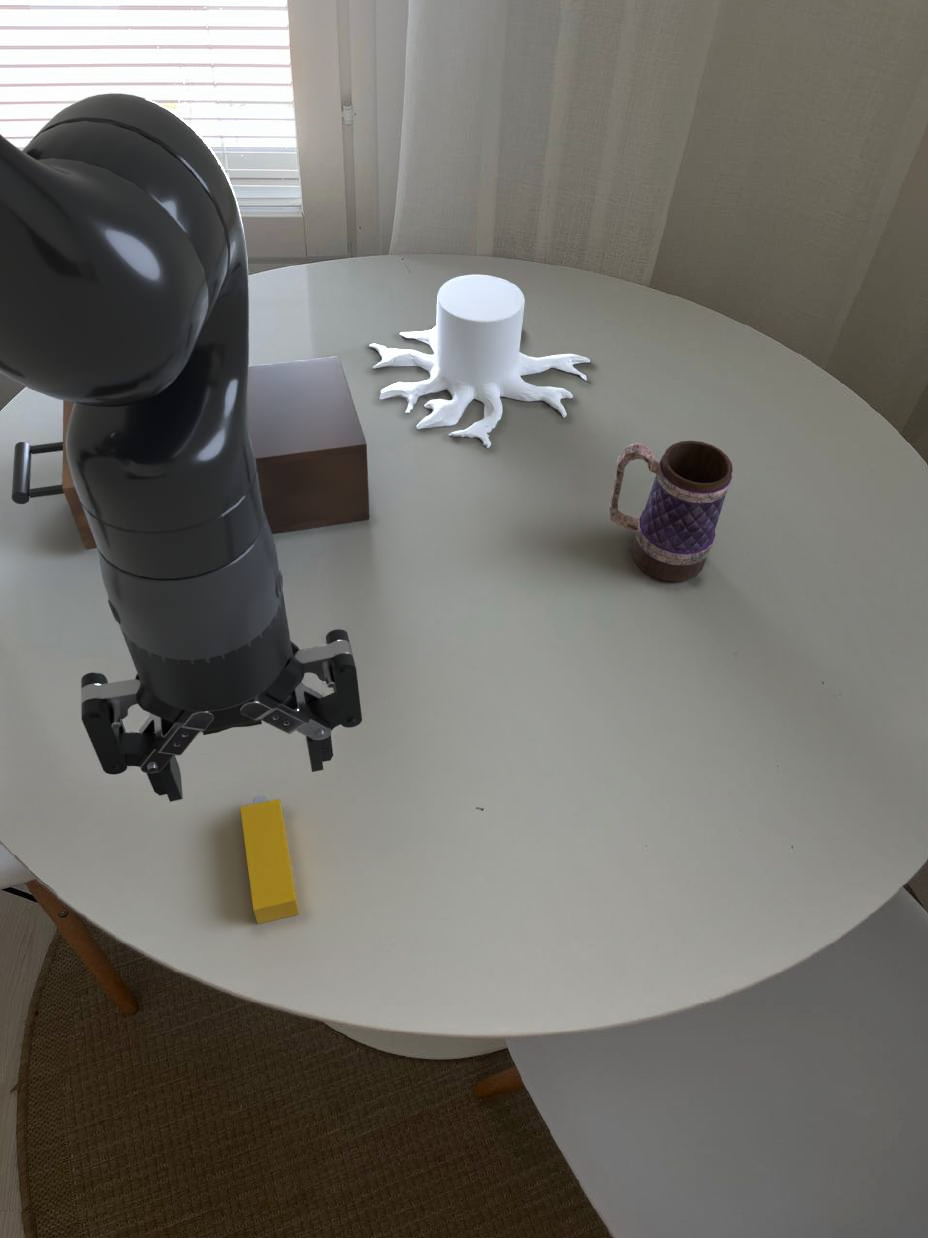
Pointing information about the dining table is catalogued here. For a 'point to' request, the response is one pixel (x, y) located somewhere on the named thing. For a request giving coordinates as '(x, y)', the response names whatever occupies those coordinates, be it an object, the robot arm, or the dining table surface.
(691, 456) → the mug
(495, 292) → the white tree stump
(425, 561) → the dining table surface
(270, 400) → the cabinet
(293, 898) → the box cutter
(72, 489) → the drawer
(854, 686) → the dining table surface
